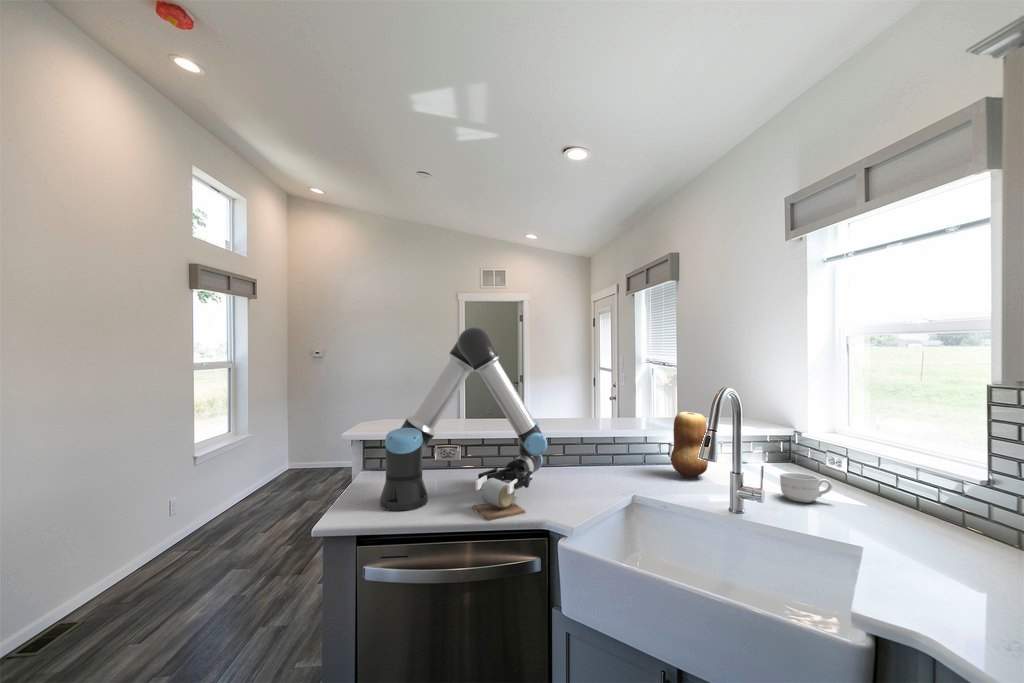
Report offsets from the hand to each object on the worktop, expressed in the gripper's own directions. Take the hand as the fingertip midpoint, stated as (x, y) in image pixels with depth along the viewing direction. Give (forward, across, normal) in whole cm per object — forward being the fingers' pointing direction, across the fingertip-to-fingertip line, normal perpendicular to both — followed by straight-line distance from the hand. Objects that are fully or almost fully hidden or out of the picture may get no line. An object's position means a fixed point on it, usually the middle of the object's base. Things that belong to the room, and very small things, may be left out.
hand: (492, 487), depth 129 cm
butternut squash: (-64, -54, -8) cm, 85 cm away
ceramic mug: (-6, 0, -7) cm, 9 cm away
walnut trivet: (-4, 0, -8) cm, 9 cm away
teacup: (-48, -89, -9) cm, 102 cm away
